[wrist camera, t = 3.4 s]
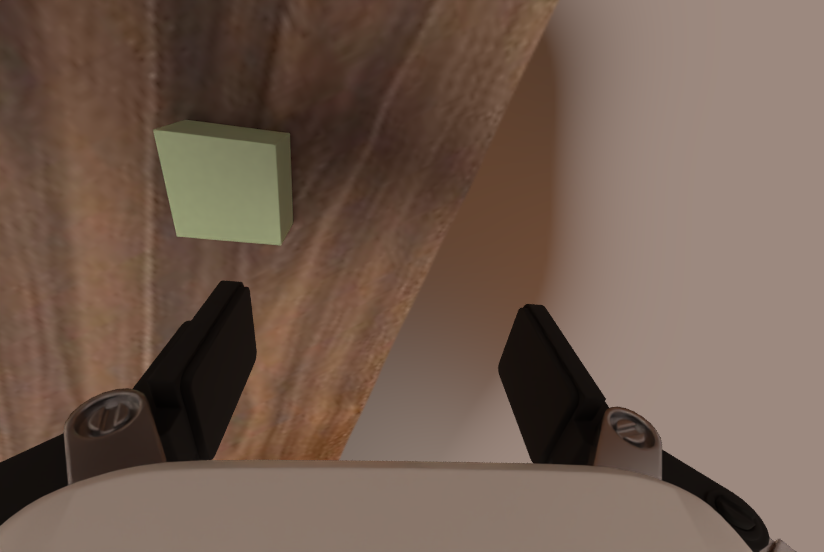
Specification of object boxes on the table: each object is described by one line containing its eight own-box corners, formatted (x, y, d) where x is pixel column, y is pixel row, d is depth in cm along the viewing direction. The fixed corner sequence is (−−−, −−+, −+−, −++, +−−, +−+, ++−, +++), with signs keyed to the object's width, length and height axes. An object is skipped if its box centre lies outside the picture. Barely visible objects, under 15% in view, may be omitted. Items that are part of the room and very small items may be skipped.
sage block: (184, 119, 21) (152, 129, 18) (290, 133, 22) (275, 144, 19) (201, 214, 24) (176, 236, 21) (293, 223, 25) (281, 245, 22)
